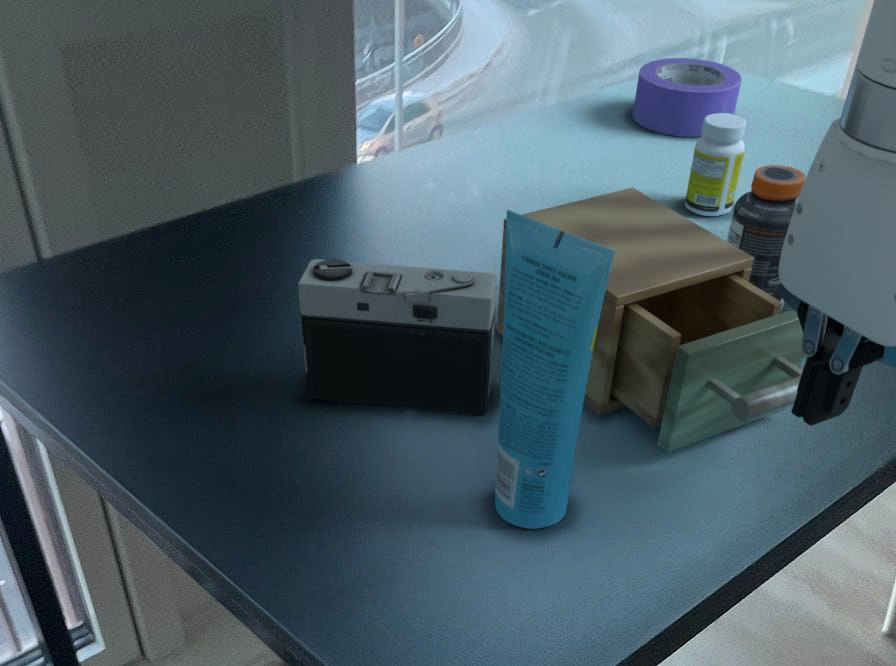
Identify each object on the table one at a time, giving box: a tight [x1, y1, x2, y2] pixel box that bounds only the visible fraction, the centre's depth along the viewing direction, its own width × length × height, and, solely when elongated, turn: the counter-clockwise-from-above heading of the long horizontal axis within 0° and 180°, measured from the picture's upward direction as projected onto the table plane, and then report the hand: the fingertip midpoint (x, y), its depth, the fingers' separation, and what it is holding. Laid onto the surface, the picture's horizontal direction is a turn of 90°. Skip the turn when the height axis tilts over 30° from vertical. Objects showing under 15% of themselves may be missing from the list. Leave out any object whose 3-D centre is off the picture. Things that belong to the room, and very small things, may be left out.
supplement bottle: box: [684, 113, 747, 217], centre depth 100 cm, size 5×5×8 cm
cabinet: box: [496, 187, 754, 416], centre depth 80 cm, size 15×13×10 cm
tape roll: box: [632, 57, 743, 138], centre depth 119 cm, size 12×12×5 cm
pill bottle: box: [726, 164, 806, 311], centre depth 85 cm, size 6×6×11 cm
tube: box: [494, 209, 616, 530], centre depth 62 cm, size 7×5×19 cm, turn 52°
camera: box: [297, 258, 498, 416], centre depth 76 cm, size 14×8×10 cm, turn 80°
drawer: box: [610, 273, 805, 453], centre depth 74 cm, size 18×11×8 cm, turn 29°
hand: (817, 413), depth 66 cm, fingers closed
